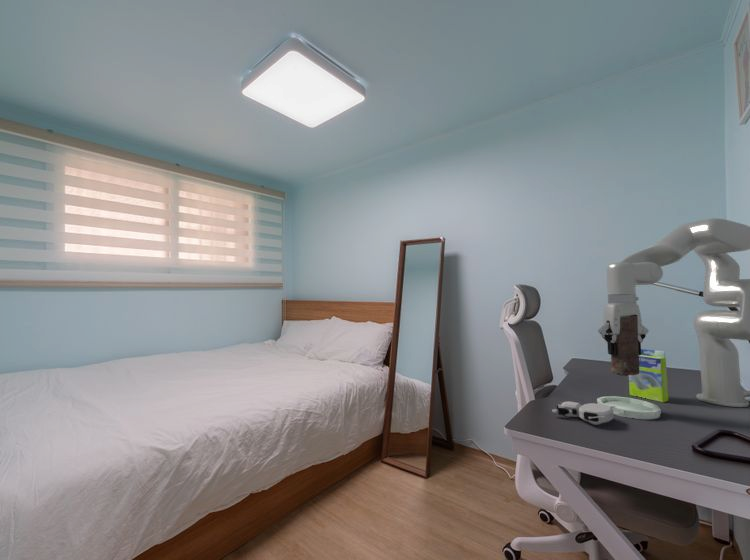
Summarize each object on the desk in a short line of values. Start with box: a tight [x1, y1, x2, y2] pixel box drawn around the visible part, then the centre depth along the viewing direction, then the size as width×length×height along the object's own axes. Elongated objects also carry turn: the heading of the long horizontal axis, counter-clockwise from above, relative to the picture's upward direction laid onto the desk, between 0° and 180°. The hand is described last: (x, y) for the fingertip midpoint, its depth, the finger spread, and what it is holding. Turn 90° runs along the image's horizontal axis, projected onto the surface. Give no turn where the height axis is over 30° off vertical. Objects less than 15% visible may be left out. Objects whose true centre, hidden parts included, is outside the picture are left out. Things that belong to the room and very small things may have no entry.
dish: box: [596, 395, 662, 421], centre depth 107 cm, size 16×16×2 cm
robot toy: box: [551, 400, 616, 426], centre depth 101 cm, size 12×4×15 cm
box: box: [628, 348, 669, 403], centre depth 121 cm, size 10×4×17 cm, turn 28°
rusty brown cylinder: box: [610, 315, 639, 377], centre depth 108 cm, size 8×7×20 cm
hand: (624, 354), depth 108 cm, fingers closed on rusty brown cylinder, 7 cm apart
